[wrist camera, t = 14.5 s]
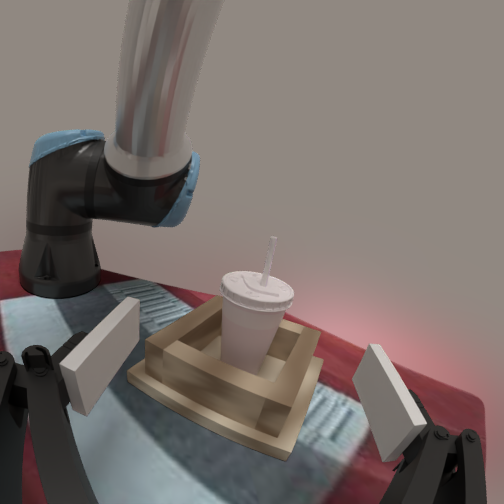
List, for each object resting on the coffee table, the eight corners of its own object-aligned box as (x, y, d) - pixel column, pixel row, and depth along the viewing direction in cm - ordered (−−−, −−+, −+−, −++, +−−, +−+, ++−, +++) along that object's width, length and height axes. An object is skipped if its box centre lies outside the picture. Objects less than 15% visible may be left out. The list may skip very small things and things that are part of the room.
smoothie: (234, 401, 22) (270, 248, 18) (194, 360, 26) (214, 224, 22) (282, 377, 26) (322, 246, 22) (242, 346, 30) (268, 226, 27)
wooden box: (127, 381, 22) (124, 336, 21) (205, 325, 36) (210, 288, 34) (285, 461, 17) (308, 422, 16) (319, 368, 31) (334, 331, 29)
